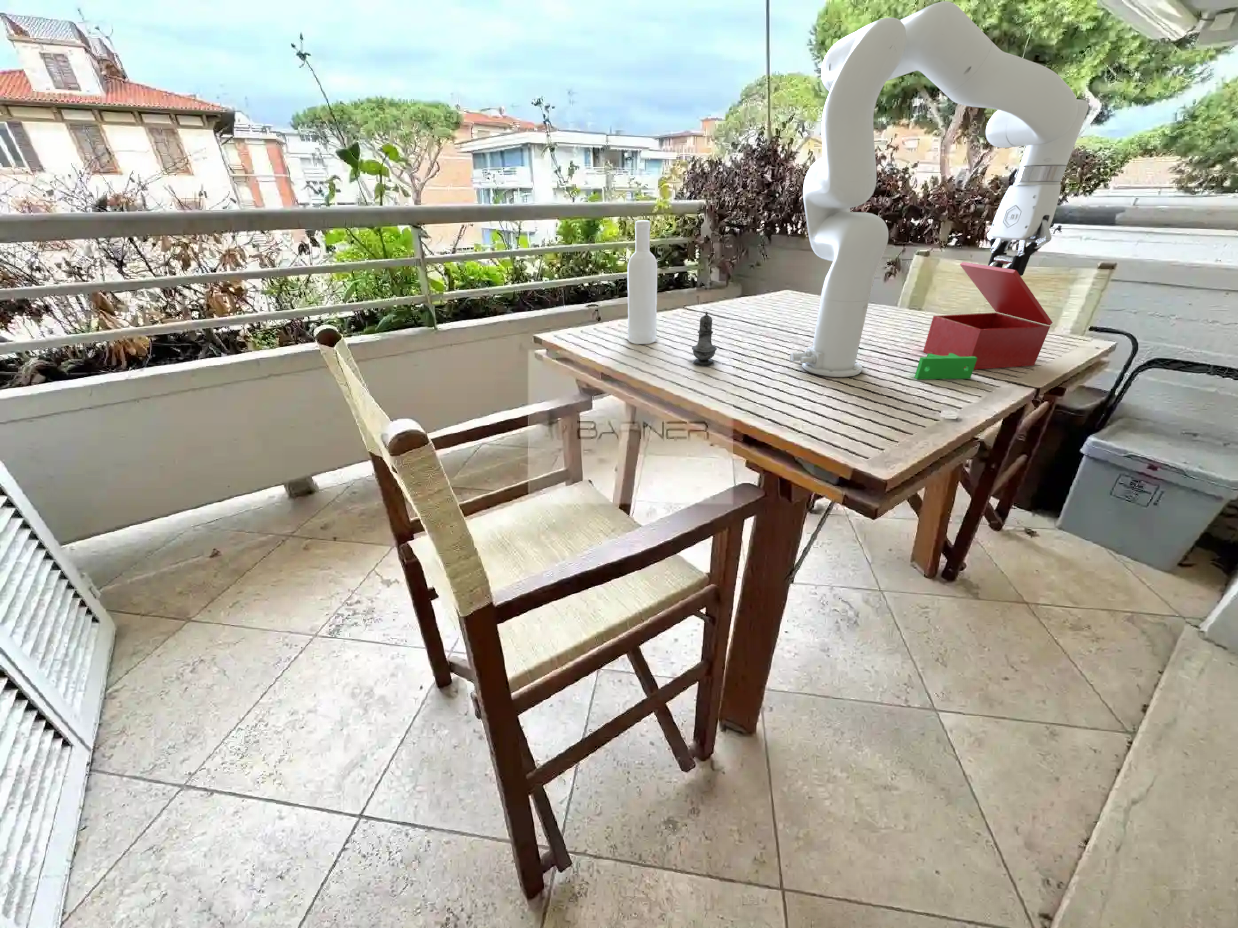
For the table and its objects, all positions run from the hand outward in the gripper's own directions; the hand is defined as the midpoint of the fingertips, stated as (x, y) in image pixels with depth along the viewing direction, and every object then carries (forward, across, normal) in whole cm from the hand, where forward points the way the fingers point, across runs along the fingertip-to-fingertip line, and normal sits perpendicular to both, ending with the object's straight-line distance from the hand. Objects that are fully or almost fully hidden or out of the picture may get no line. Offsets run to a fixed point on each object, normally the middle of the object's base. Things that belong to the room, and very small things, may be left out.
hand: (1004, 273), depth 105 cm
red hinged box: (+19, 0, +1) cm, 19 cm away
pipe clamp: (+20, +10, -16) cm, 27 cm away
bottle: (+21, -32, -74) cm, 83 cm away
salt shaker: (+20, -9, -63) cm, 67 cm away
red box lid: (+5, 0, +2) cm, 5 cm away
